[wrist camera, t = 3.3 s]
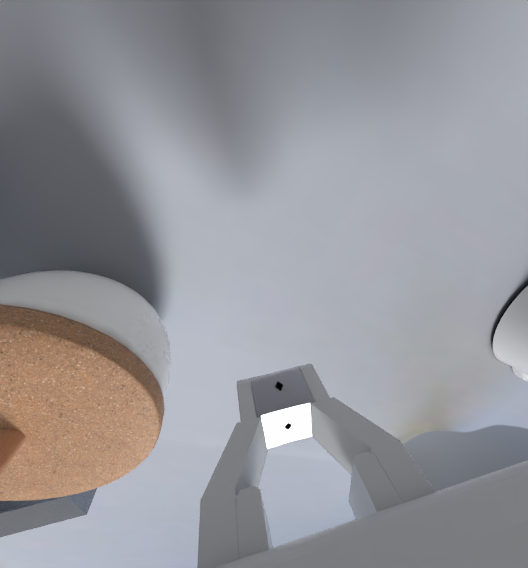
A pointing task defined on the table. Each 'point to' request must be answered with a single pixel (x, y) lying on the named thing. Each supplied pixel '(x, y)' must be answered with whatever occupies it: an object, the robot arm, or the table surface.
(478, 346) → the table surface
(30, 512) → the vise body
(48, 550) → the table surface
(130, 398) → the lidded jar
